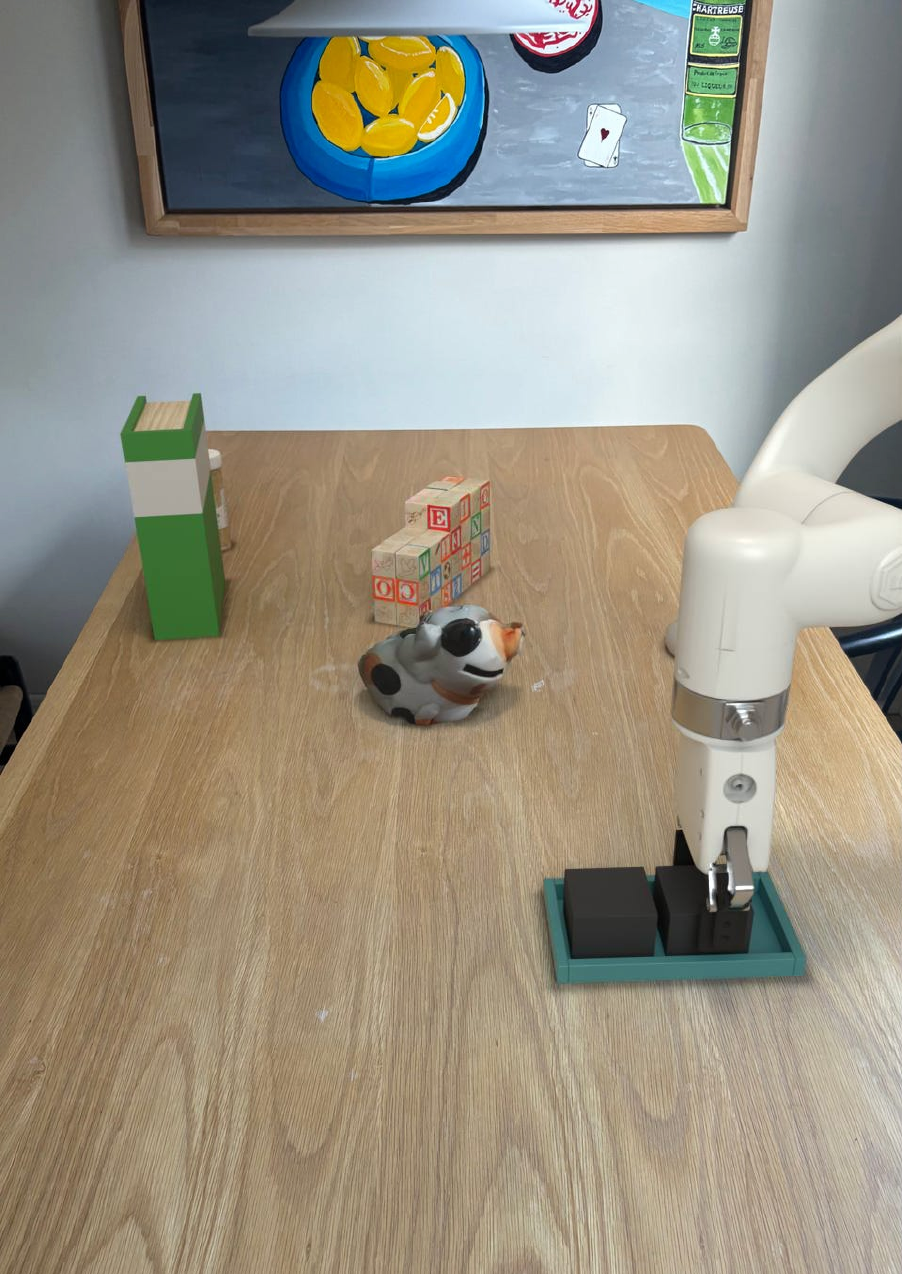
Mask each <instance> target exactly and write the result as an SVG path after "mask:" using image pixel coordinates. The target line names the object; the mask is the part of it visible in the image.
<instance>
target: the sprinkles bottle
mask: <svg viewBox="0 0 902 1274" xmlns="http://www.w3.org/2000/svg"><path fill="white" fill-rule="evenodd" d="M208 452H209V460H210V468H211V475H212V483H213V491H214V499H215V506H216V514H217V522H218V530H219V537H220V545H221V552H224V551H226V550H229V549H230V548H231V547H232V542H231V539H230V531H229V520H228V519H229V518H228V511H227V503H226V495H225V487H224V482H223V477H222V476H223V474H222V473H223V472H222V465H223V464H222V456H221V452H220V451H219V450H217V449H212V448H208Z"/></svg>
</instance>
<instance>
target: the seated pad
mask: <svg viewBox="0 0 902 1274" xmlns="http://www.w3.org/2000/svg"><path fill="white" fill-rule="evenodd" d="M563 875H564V876H563V878H564V894H563V914H564V920H565V926H566V931H567V937H568V943H569V949H570V954H571V959H595V958H627V957H654V950H655V940H656V929H657V919H658V914H657V911H656V907H655V904H654V900H653V897H652V893H651V890H650V886H649V883H648V880H647V876H646V875H647V873H646V870H645V867H644V866H617V867H586V868H564V873H563Z"/></svg>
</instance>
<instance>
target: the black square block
mask: <svg viewBox="0 0 902 1274" xmlns="http://www.w3.org/2000/svg"><path fill="white" fill-rule="evenodd" d="M713 865H727V863H716V864H713ZM654 869H655V871H654V875H655V879H654V890H653V900H654V904H655V907H656V911H657V914H658V919H657V928H658V931H659V935H660V938H661V942H662V945H663V949H664V952H665V956H690V955H721V954H748V951H749V945H750V938H751V931H752V925H753V918H754V910H753V908H752V905H751V903H750V909H749V911H748V916H747V924H746V931H745V938H744V946H743V948H742V949H741V950H739V951H723V952H700V951H699V950H698V947H697V935H698V926H699V917H700V908H701V903H706V890H705V874H704V873H703V872H701V871H700V870H699V869H698V868H697V867H696V865H679V866H673V865H656V866H655V868H654ZM716 883H717V894H718V893H719V892H721V891H722V890H728V885H729V874H716Z"/></svg>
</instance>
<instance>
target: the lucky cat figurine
mask: <svg viewBox="0 0 902 1274" xmlns="http://www.w3.org/2000/svg"><path fill="white" fill-rule="evenodd" d="M526 634H527V632H526V631H524V628H523V623H522V622H518V621H513V622H509V623H506V624H504V623H503V622H502V621H501V620H500V619H499V618H498V617H497V616H496V615H494V614H493V613H492V612H490V611H488V610H486V609H485V608H484V607H482V606H479V605H474V604H467V603H466V604H463V605H457V606H446V607H442V608H439V609H437V610H436V611H434V612H433V611H432V610H426V611H425V612H424V613H422V615H421V616H420V622H419V624H418V625H417V627H416V628H407V629H401V630H399V631H397V632H395V633H392V634H390V635H389V636H388V637H386V638H385V639H384V640H381V641H379V642H377V643H376V644H374V645H373V646H372V647H370V648H369V649H368V650H367V651H366V652H365V654H362V655H361V656H360V659H359V660H358V662H357V668H358V673H359V676H360V678H361V680H362V683H363V684H364V687H366V689H367V691H368V692H369V694H370V696H371V697H372V698H373V700H374V701H375V702H376V703H377V704H378V705H379V706H380V707H381V708H382V709H383V710H384V711H385V713H388V715H389V716H392V717H400V716H403V717H404V718H405V719H406V721H407V722H408V723H409V724H410V725H415V726H421V727H424V726H432V725H436V724H444V723H449V722H457V721H460V720H464V719H466V718H468V717H469V715H470V714H471V712H472V711H474V708H477V707H478V705H479V703H480V702H479V701H480V699H481V698H482V697H483V696H484V695H485V694H486V693H488V692H490V691H492V690H493V688H494V687H495V685H496V684H497V683H499V681H500V680H501V679H502V678H503V676H504V674H505V673H506V670H507V669H506V668H507V667H508V666H509V664H510V663H511V661H512V660H513V658H515V657H516V656H517V655H519V653H520V652H521V651H522V649H523V642H524V639H525V637H526Z"/></svg>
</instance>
